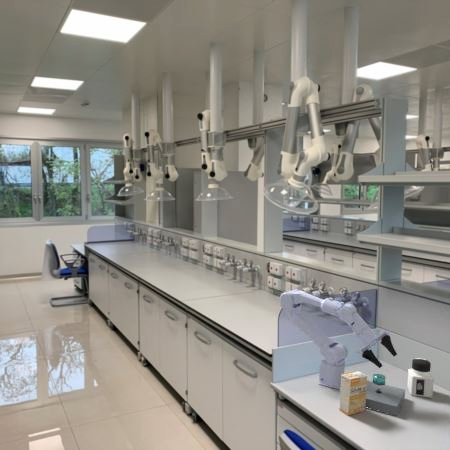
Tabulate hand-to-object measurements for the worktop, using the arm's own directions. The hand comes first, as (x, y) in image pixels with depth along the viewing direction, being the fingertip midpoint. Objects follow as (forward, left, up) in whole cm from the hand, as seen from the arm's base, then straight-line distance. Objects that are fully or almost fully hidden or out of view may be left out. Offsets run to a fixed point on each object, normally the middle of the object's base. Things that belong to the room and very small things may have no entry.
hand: (388, 361), depth 163 cm
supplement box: (-8, -15, -15) cm, 23 cm away
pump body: (-3, -2, -15) cm, 15 cm away
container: (+9, +15, -15) cm, 23 cm away
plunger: (-3, -2, -12) cm, 12 cm away
